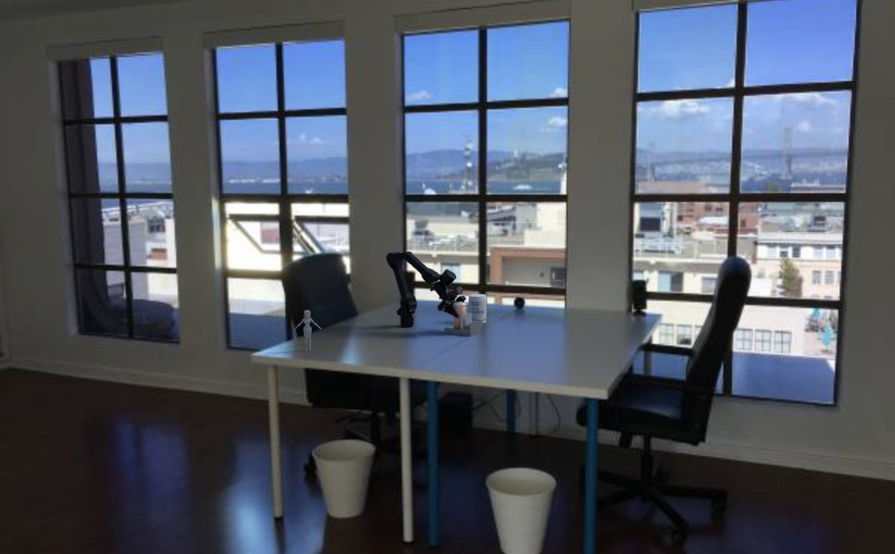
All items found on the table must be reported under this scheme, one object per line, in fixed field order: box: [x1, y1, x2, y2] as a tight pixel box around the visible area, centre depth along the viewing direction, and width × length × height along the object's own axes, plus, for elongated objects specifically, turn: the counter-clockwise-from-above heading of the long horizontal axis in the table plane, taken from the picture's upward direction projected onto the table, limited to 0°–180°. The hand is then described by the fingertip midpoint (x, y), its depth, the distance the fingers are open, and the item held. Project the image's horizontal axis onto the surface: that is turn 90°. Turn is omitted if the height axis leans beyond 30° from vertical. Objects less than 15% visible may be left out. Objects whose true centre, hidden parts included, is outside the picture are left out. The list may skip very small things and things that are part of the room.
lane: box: [443, 320, 483, 337], centre depth 347 cm, size 15×11×6 cm
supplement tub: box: [467, 293, 488, 324], centre depth 373 cm, size 10×10×15 cm
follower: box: [461, 312, 472, 330], centre depth 346 cm, size 1×8×9 cm, turn 146°
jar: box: [452, 301, 467, 329], centre depth 347 cm, size 7×7×13 cm
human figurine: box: [293, 309, 322, 352], centre depth 315 cm, size 12×4×18 cm, turn 97°
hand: (462, 316), depth 347 cm, fingers closed on jar, 6 cm apart
